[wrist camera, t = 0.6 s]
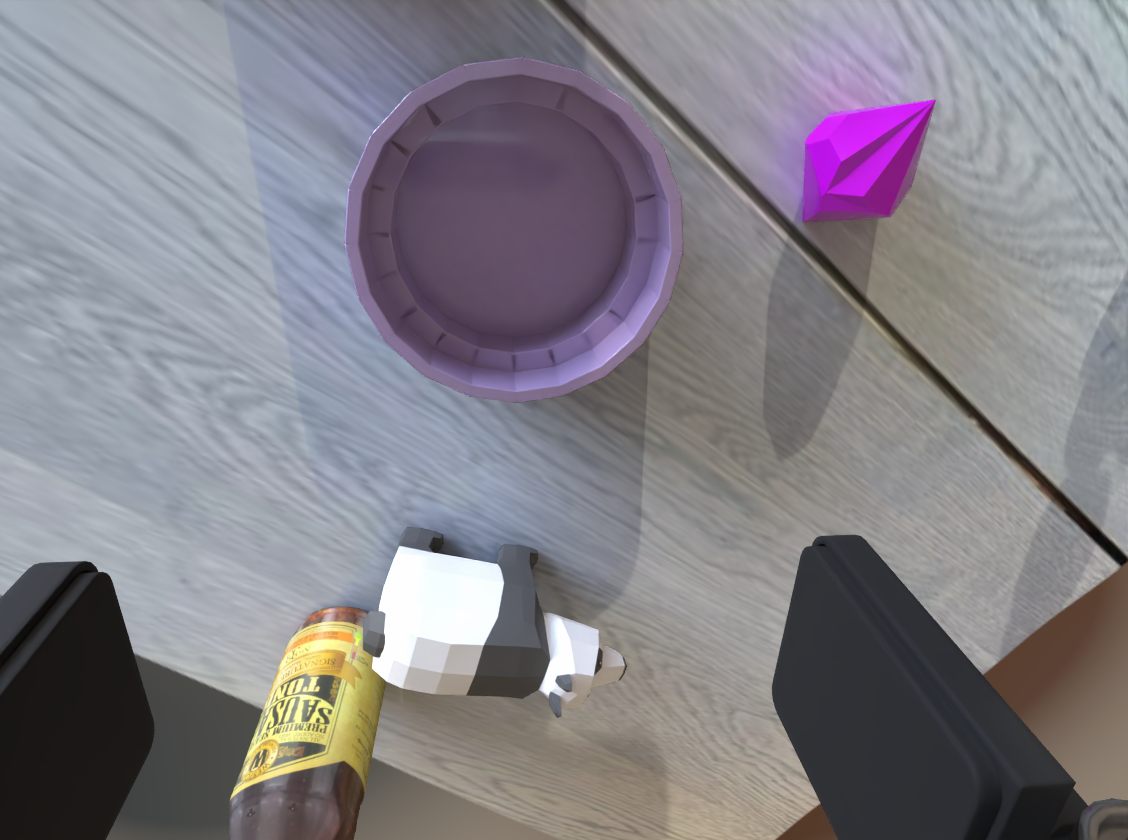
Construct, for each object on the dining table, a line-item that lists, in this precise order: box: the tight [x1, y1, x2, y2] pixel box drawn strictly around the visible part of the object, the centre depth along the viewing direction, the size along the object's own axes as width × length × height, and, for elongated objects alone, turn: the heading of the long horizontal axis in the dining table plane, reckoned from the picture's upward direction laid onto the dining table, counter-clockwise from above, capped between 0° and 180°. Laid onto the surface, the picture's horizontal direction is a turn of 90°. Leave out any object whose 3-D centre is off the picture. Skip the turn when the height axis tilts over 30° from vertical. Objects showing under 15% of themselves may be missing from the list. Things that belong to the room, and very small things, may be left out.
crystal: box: [803, 100, 936, 222], centre depth 33 cm, size 5×5×5 cm
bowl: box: [344, 57, 683, 403], centre depth 32 cm, size 14×14×6 cm
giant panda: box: [363, 527, 627, 718], centre depth 39 cm, size 15×6×10 cm, turn 72°
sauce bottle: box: [229, 607, 386, 840], centre depth 35 cm, size 7×6×20 cm
